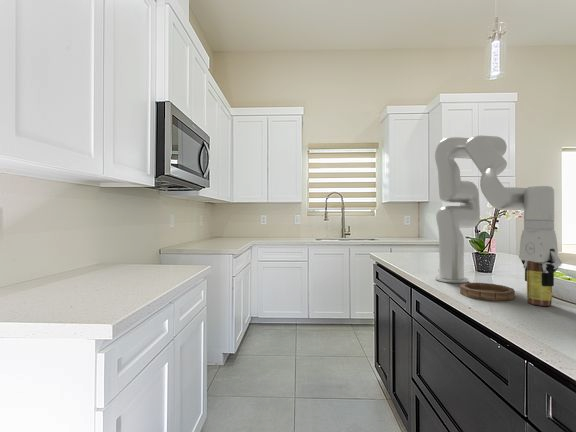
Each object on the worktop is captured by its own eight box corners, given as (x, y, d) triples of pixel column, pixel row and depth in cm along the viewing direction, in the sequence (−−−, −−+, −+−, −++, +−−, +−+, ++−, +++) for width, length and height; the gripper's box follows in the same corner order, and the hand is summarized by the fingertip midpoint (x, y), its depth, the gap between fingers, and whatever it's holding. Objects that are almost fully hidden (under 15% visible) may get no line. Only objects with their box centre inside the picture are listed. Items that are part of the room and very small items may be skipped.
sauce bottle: (556, 307, 98) (557, 241, 98) (533, 306, 99) (533, 241, 99) (544, 301, 104) (545, 239, 104) (522, 300, 106) (522, 239, 105)
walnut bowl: (451, 289, 121) (451, 282, 121) (493, 289, 122) (493, 282, 122) (477, 301, 105) (477, 293, 105) (526, 300, 106) (526, 292, 106)
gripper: (507, 225, 110) (507, 278, 110) (549, 227, 93) (549, 290, 93) (529, 224, 110) (529, 278, 111) (575, 226, 93) (575, 289, 93)
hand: (538, 283), depth 102 cm, fingers closed on sauce bottle, 6 cm apart
